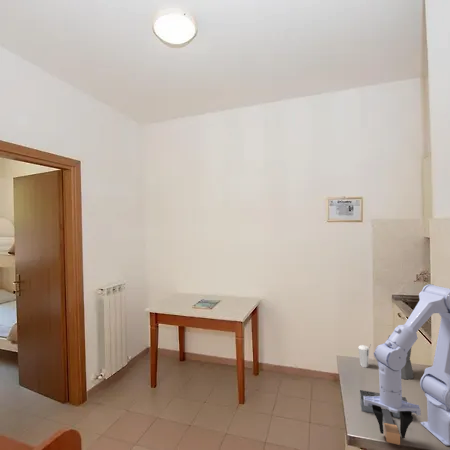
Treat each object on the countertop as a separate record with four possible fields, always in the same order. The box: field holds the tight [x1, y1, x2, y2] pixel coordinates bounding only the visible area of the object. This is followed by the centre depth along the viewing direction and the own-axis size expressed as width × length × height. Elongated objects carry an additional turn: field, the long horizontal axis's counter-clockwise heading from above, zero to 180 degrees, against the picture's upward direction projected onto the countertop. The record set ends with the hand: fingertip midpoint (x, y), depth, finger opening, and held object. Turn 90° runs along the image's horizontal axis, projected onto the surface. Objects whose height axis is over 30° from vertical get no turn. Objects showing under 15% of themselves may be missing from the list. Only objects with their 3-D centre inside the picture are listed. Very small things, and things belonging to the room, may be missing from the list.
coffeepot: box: [387, 334, 414, 380], centre depth 120 cm, size 15×9×18 cm, turn 121°
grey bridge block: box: [359, 389, 408, 419], centre depth 95 cm, size 4×14×5 cm, turn 70°
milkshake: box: [357, 344, 372, 369], centre depth 127 cm, size 4×5×10 cm
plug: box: [381, 407, 401, 446], centre depth 86 cm, size 12×3×3 cm, turn 160°
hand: (391, 433), depth 82 cm, fingers open, 5 cm apart
